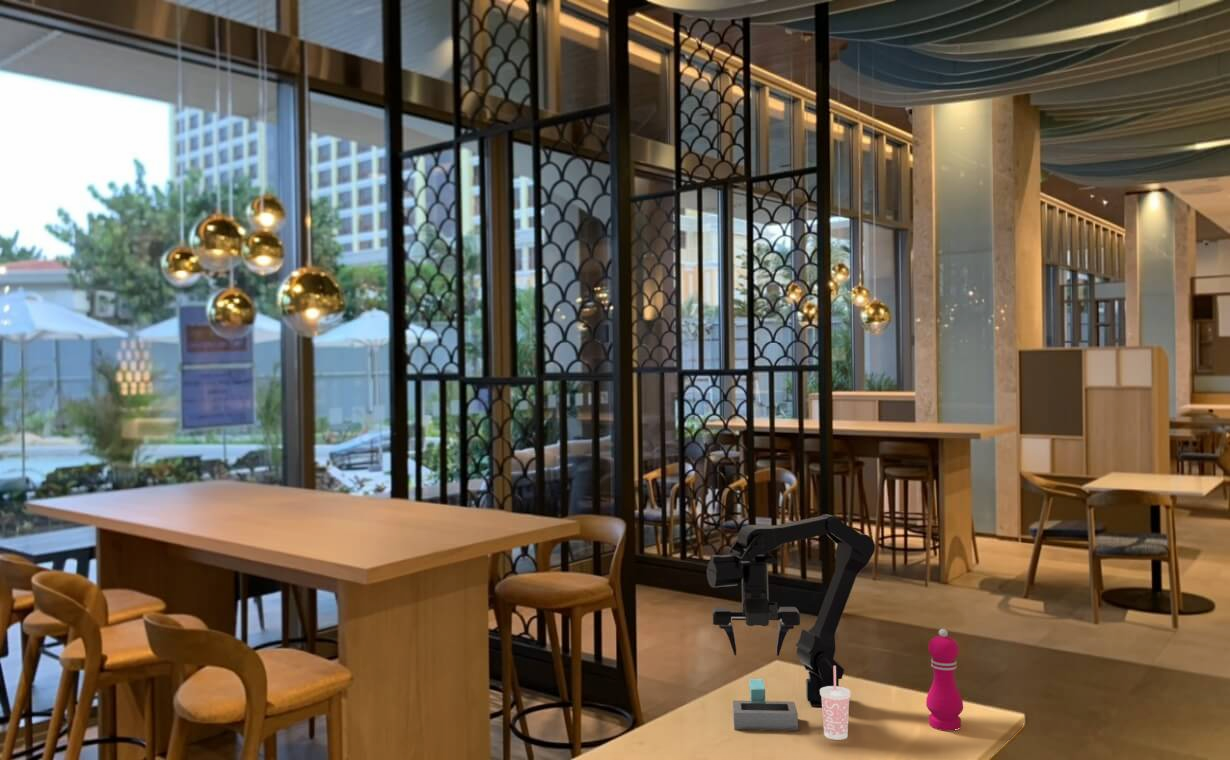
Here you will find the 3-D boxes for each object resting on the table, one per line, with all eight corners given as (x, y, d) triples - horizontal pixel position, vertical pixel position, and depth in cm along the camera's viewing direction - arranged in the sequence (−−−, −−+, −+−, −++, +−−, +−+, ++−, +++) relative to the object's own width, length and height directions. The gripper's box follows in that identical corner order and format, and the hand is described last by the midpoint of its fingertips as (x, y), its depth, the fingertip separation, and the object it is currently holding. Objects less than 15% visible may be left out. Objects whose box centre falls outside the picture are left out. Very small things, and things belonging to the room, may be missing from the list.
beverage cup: (814, 734, 184) (812, 665, 185) (833, 727, 188) (832, 659, 188) (838, 743, 180) (836, 672, 180) (857, 736, 183) (856, 666, 183)
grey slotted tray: (794, 718, 194) (794, 701, 194) (798, 730, 186) (797, 713, 187) (733, 716, 195) (732, 700, 195) (734, 729, 188) (734, 712, 188)
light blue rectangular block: (749, 704, 203) (749, 679, 203) (763, 704, 203) (763, 679, 203) (751, 715, 196) (751, 689, 196) (765, 715, 196) (765, 689, 196)
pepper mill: (964, 722, 190) (962, 626, 190) (962, 734, 183) (960, 635, 184) (928, 717, 193) (926, 623, 193) (924, 729, 186) (922, 631, 187)
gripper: (712, 592, 192) (714, 665, 192) (801, 592, 191) (803, 666, 190) (712, 581, 203) (713, 650, 203) (796, 581, 202) (798, 651, 202)
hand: (756, 655), depth 199 cm, fingers open, 9 cm apart
